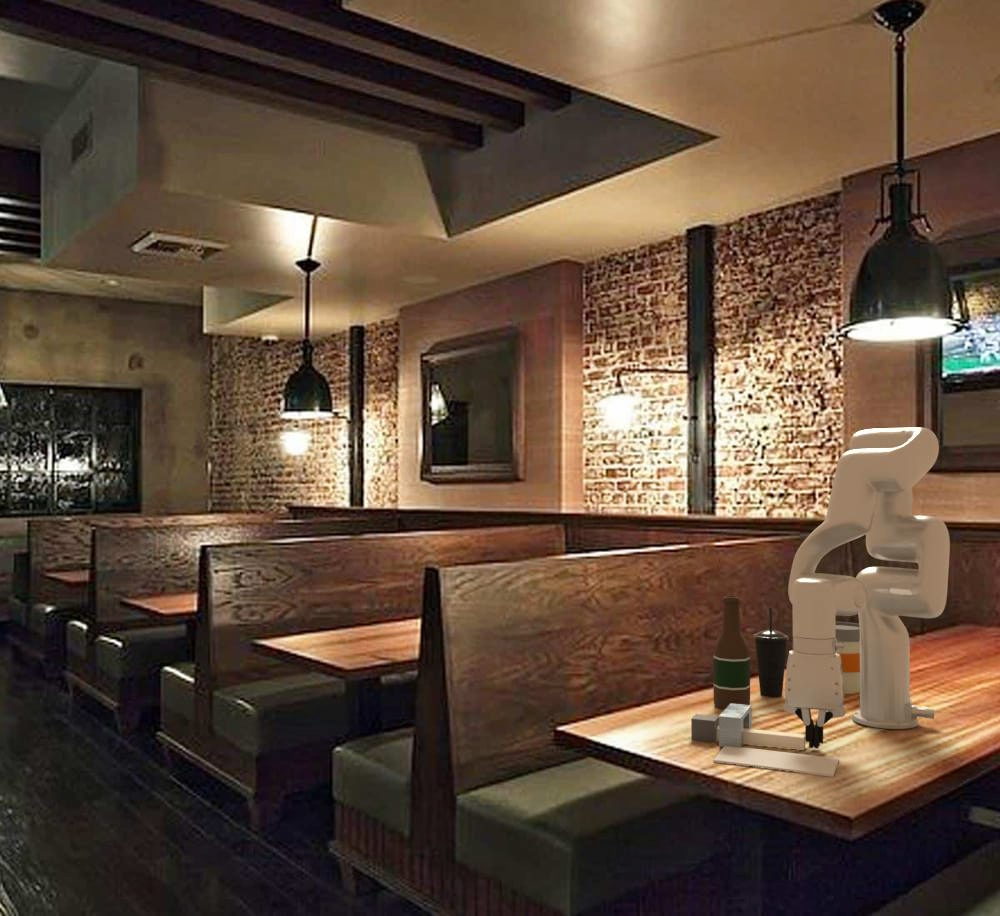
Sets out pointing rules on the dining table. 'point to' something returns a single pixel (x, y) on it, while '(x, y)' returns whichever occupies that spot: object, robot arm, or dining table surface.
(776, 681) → the drinking cup
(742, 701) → the beer bottle
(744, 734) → the cream rectangular bar
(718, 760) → the mat
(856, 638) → the reusable coffee cup
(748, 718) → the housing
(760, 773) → the dining table surface
